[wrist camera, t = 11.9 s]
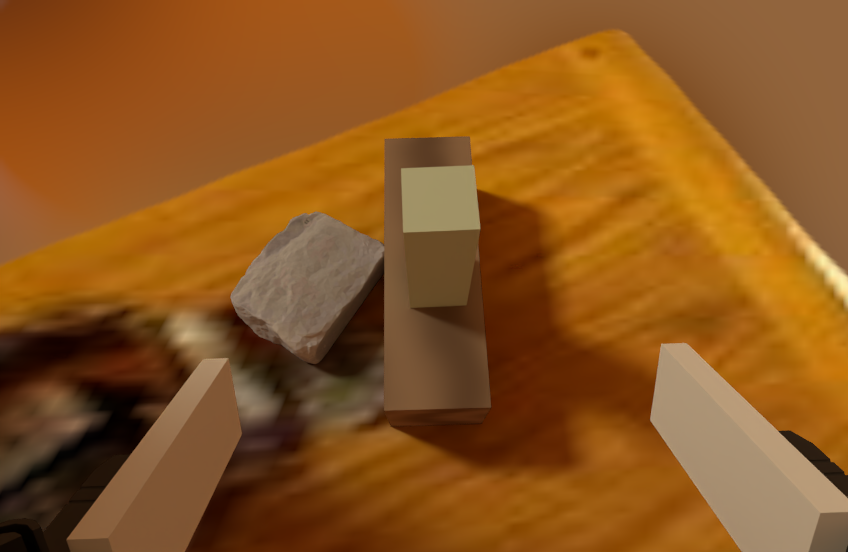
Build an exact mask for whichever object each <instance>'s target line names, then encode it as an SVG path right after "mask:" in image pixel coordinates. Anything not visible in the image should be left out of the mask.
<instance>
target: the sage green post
mask: <svg viewBox="0 0 848 552" xmlns="http://www.w3.org/2000/svg"><path fill="white" fill-rule="evenodd" d="M401 184H402V213H403V236H404V247H405V258H406V269H407V280H408V291H409V302H410V308H422V307H444V306H465V305H467V300H468V295H469V289H470V284H471V278H472V273H473V268H474V262H475V257H476V251H477V246H478V241H479V235H480V230H481V228H480V218H479V209H478V199H477V189H476V180H475V170H474V165H469V166H445V167H422V168H401Z"/></svg>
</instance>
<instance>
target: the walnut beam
mask: <svg viewBox="0 0 848 552" xmlns="http://www.w3.org/2000/svg"><path fill="white" fill-rule="evenodd" d="M469 165H472V159H471V147H470V137H436V138H401V139H385V227H384V412H385V414H386V416H387V419H388V421H389V423H390V425H391V426H421V425H454V424H481V423H482V422H483V420H484V419H485V417H486V415H487V414H488V412H489V410H490V409H491V398H490V385H489V373H488V360H487V348H486V335H485V323H484V310H483V297H482V285H481V272H480V260H479V247H478V246H477V251H476V257H475V262H474V268H473V273H472V278H471V284H470V289H469V295H468V300H467V305H465V306H444V307H422V308H410V302H409V291H408V280H407V269H406V258H405V247H404V236H403V213H402V184H401V168H422V167H445V166H469Z"/></svg>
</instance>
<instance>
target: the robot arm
mask: <svg viewBox="0 0 848 552" xmlns="http://www.w3.org/2000/svg"><path fill="white" fill-rule="evenodd" d="M650 421H651V422H652V424H653V425H654V427H655V428H656V429H657V431H658V432H659V434H660V435H661V437H662V438H663V439H664V441H665V442H666V444H667V445H668V447H669V448H670V450H671V451H672V452H673V454H674V455H675V457H676V458H677V460H678V461H679V462H680V464H681V465H682V467H683V468H684V470H685V471H686V472H687V474H688V475H689V477H690V478H691V480H692V481H693V483H694V484H695V485H696V487H697V488H698V490H699V491H700V493H701V494H702V495H703V497H704V498H705V500H706V501H707V503H708V504H709V505H710V507H711V508H712V510H713V511H714V513H715V514H716V516H717V517H718V518H719V520H720V521H721V523H722V524H723V526H724V527H725V528H726V530H727V531H728V533H729V534H730V536H731V537H732V538H733V540H734V541H735V543H736V544H737V546H738V547H739V548H740V550H741V551H742V552H848V475H845V474H844V471H843V470H841V469H840V468H839V467H838V466H837V465H836V464H835V463H834V462H830V459H829V458H828V457H827V456H826V455H825V454H824V453H823V452H822V451H821V450H819V449H818V448H817V447H816V446H815V445H814V444H813V443H811V442H809V441H807V440H806V439H804V438H802V437H800V436H799V435H797V434H795V433H793V432H792V431H777V430H776V429H775V428H774V427H773V426H772V425H771V424H770V423H769V422H768V421H767V420H766V419H765V418H764V417H763V416H762V415H761V414H760V413H759V412H758V411H756V410H755V409H754V408H753V407H752V406H751V405H750V404H749V403H748V402H747V401H746V400H745V399H744V398H743V397H742V396H741V395H740V394H739V393H738V392H737V391H736V390H735V389H734V388H733V387H731V386H730V385H729V384H728V383H727V382H726V381H725V380H724V379H723V378H722V377H721V376H720V375H719V374H718V373H717V372H716V371H715V370H714V369H713V368H712V367H711V366H710V365H709V364H708V363H707V362H705V361H704V360H703V359H702V358H701V357H700V356H699V355H698V354H697V353H696V352H695V351H694V350H693V349H692V348H691V347H690V346H689V345H688V344H687V343H675V344H661V349H660V356H659V363H658V370H657V376H656V383H655V390H654V397H653V403H652V410H651V417H650ZM241 435H242V431H241V425H240V420H239V414H238V409H237V403H236V397H235V392H234V386H233V381H232V375H231V369H230V364H229V358H217V359H203V360H202V361H201V362H200V364H199V365H198V366H197V368H196V369H195V370H194V372H193V373H192V374H191V376H190V377H189V378H188V380H187V381H186V382H185V383H184V385H183V386H182V387H181V389H180V390H179V391H178V393H177V394H176V395H175V397H174V398H173V399H172V401H171V402H170V403H169V405H168V406H167V407H166V409H165V410H164V411H163V413H162V414H161V415H160V417H159V418H158V419H157V420H156V422H155V423H154V424H153V426H152V427H151V428H150V430H149V431H148V432H147V434H146V435H145V436H144V438H143V439H142V440H141V442H140V443H139V444H138V446H137V447H136V448H135V450H134V451H133V452H132V454H131V455H114V456H113V457H111V458H110V459H109V460H107V461H106V462H105V463H103V464H102V465H100V466H99V467H98V468H96V469H95V470H94V471H93V472H92V473H91V475H90V476H89V477H88V478H87V480H86V481H85V482H84V483H83V484H82V486H81V489H80V490H78V491H77V492H76V493H75V494H74V495H73V497H72V498H71V499H70V500H69V504H66V505H65V506H64V508H63V509H62V510H61V511H60V513H59V514H58V515H57V516H56V517H55V519H54V520H53V521H52V522H51V523H50V525H49V526H48V527H47V528H46V530H45V531H44V532H42V529H41V527H40V526H39V524H38V523H37V522H36V521H35V520H30V519H26V518H23V519H14V520H9V521H6V522H3V523H0V552H185V550H186V548H187V546H188V544H189V542H190V540H191V538H192V536H193V534H194V532H195V530H196V528H197V526H198V524H199V522H200V520H201V517H202V515H203V513H204V511H205V509H206V507H207V505H208V503H209V501H210V499H211V497H212V495H213V493H214V491H215V489H216V487H217V485H218V482H219V480H220V478H221V476H222V474H223V472H224V470H225V468H226V466H227V464H228V462H229V460H230V458H231V456H232V454H233V452H234V450H235V447H236V445H237V443H238V441H239V439H240V437H241Z"/></svg>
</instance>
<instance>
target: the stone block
mask: <svg viewBox="0 0 848 552" xmlns="http://www.w3.org/2000/svg"><path fill="white" fill-rule="evenodd" d="M383 274H384V244H382V243H381V242H379V241H378V240H375V239H372V238H370V237H369V236H367V235H364V234H361V233H359V232H358V231H356V230H354V229H352V228H351V227H349V226H347V225H345V224H343V223H342V222H340V221H338V220H336V219H334V218H332V217H330V216H328V215H326V214H323V213H320V212H314V213H312V214H310V215H308V214H306V213H304V214H302V215H300V216H297V217H294V218H293V219H291V220H290V222H289V224H288V225H287V227H286V229H285V230H284V231H282V232H280V233H278V234H277V235H276V236H275V237H274V238H273V239H272V240H271V241H270V242H269V243H268V244H267V245H266V246H265V248H264V249H263V250H262V252H261V254H260V255H259V256H258V257H257V258H256V259H255V260H253V262H252V264H251V265H250V266H249V268H248V269H247V272H246V275H245V276H243V277H241V280H240V281H239V283H238V285H237V286H236V288H235V289H234V291H233V292H232V294H231V301H232V303H233V306H234V307H235V310H236V313H237V314H238V315H239V317H240V318H241V319H242V320H243V321H244V322H245V323H246V324H247V325H249V326H250V327H251V328H252V330H253V331H254V333H256V334H257V335H258V336H259V337H262V338H264V339H267V340H270V341H272V342H273V343H274V344H280V345H282V346H284V347H285V348H286V349H288V350H289V351H290V352H291V353H293V354H294V355H296V356H297V357H299V358H300V359H302V360H303V361H305V362H308V363H312V364H316V363H319V362H320V361H321V360H322V359H323V358H324V356H325V355H326V354H327V353H328V351H329V350H330V348H331V347H332V345H333V344H334V342H335V341H336V340H337V338H338V337H339V335H340V334H341V333H342V331H343V330H344V328H345V327H346V325H347V324H348V323H349V321H350V320H351V319H352V317H353V316H354V314H355V313H356V311H357V310H358V309H359V307H360V306H361V305H362V303H363V302H364V300H365V299H366V297H367V296H368V294H369V293H370V291H371V290H372V289H373V287H374V286H375V285H376V283H377V282H378V281H379V279H380V278H381V276H382V275H383Z"/></svg>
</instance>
